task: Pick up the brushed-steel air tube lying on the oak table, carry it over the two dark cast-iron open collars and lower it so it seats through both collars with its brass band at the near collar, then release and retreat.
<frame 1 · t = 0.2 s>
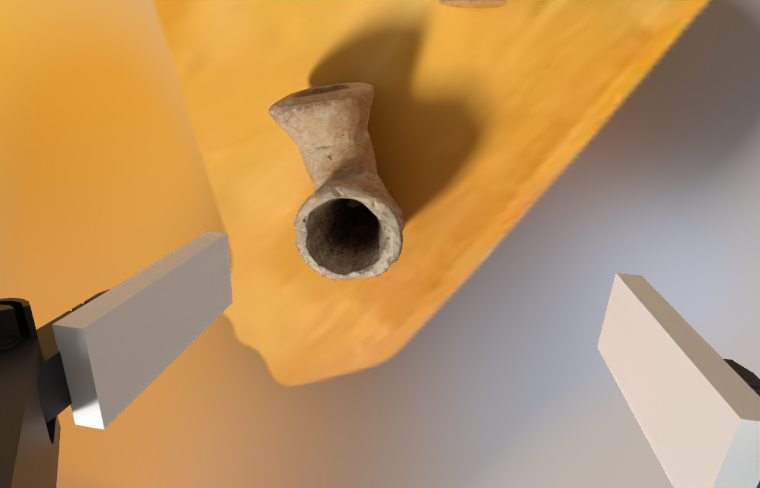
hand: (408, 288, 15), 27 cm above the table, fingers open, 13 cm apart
pipe: (357, 169, 42), on the table
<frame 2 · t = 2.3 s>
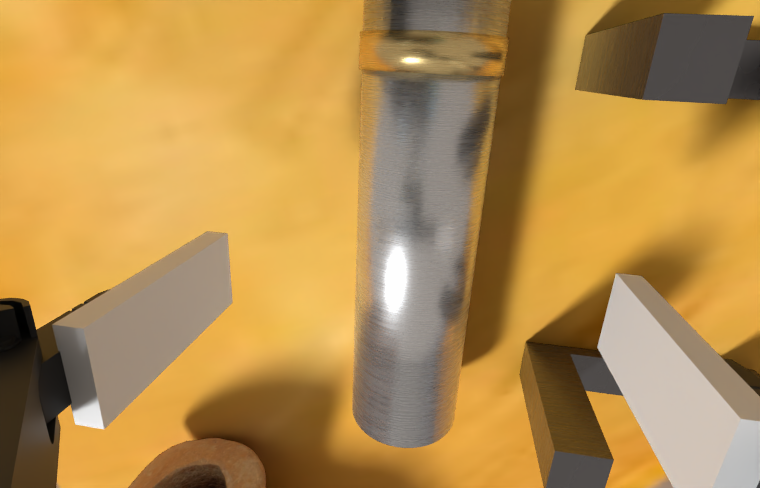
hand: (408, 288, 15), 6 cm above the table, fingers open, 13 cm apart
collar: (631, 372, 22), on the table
air tube: (421, 218, 21), on the table
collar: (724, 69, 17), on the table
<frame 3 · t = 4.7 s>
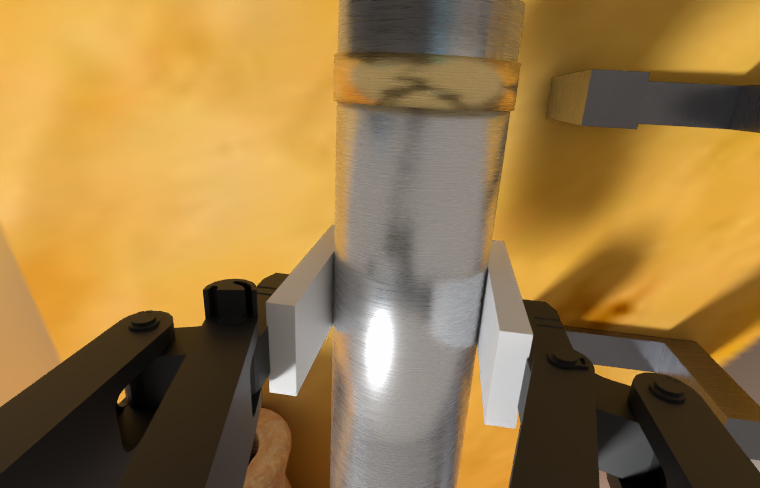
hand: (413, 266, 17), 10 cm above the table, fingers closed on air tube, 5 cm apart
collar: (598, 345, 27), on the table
pipe: (283, 482, 35), on the table
air tube: (413, 272, 18), point 9 cm above the table, touching gripper
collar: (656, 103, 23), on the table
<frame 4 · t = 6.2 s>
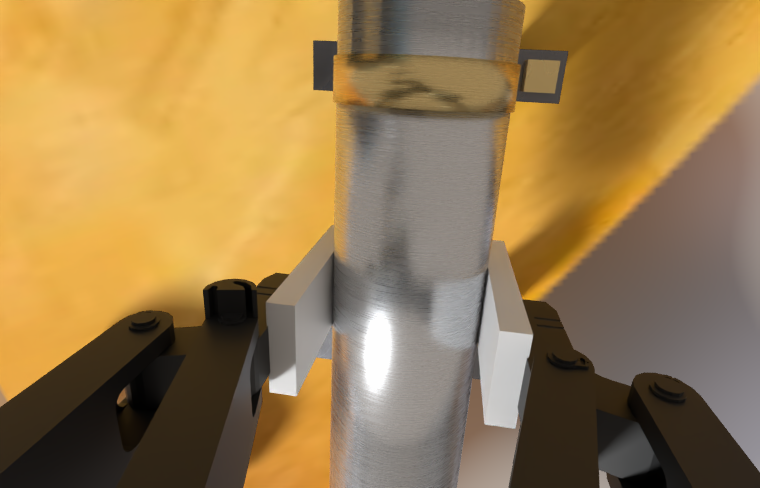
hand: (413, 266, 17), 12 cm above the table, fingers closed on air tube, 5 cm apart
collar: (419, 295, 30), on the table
air tube: (413, 274, 18), point 11 cm above the table, touching gripper
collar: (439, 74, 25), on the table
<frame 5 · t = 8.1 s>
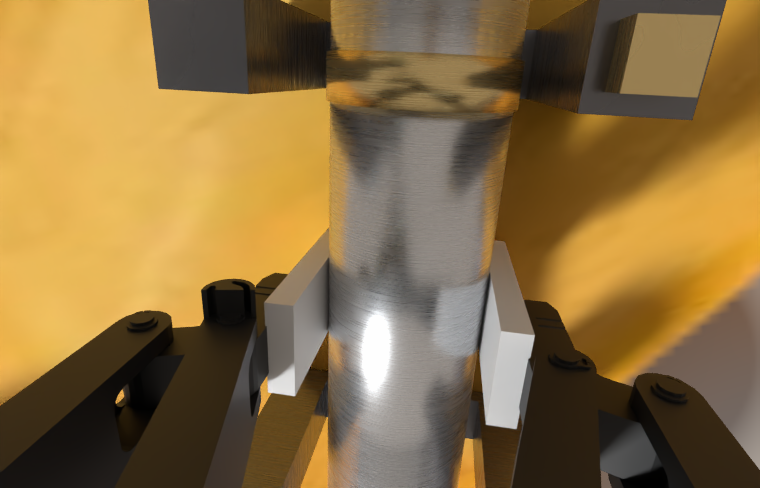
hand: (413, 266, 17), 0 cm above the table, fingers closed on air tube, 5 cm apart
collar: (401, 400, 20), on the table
air tube: (411, 275, 17), point 1 cm above the table, touching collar, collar, gripper
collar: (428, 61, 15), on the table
when the fingers open (0 cm above the table, at t = 8.4 s): air tube stays where it is, resting on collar, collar.
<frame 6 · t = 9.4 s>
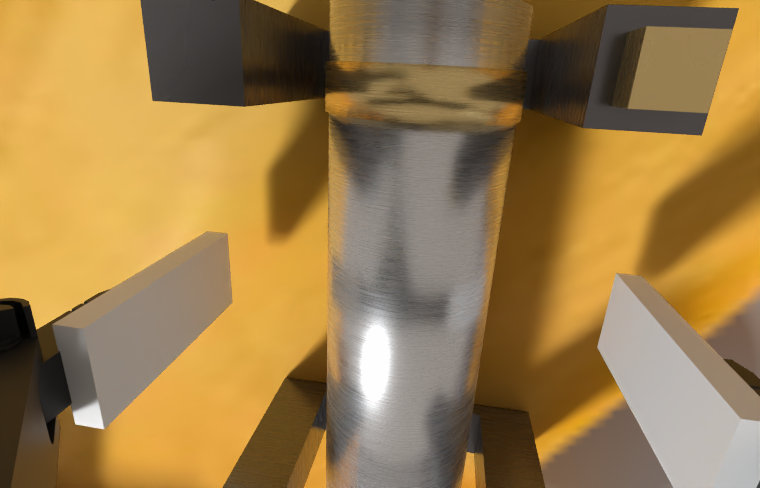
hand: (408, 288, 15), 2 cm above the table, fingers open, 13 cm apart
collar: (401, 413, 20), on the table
air tube: (412, 287, 17), point 1 cm above the table, touching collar, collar
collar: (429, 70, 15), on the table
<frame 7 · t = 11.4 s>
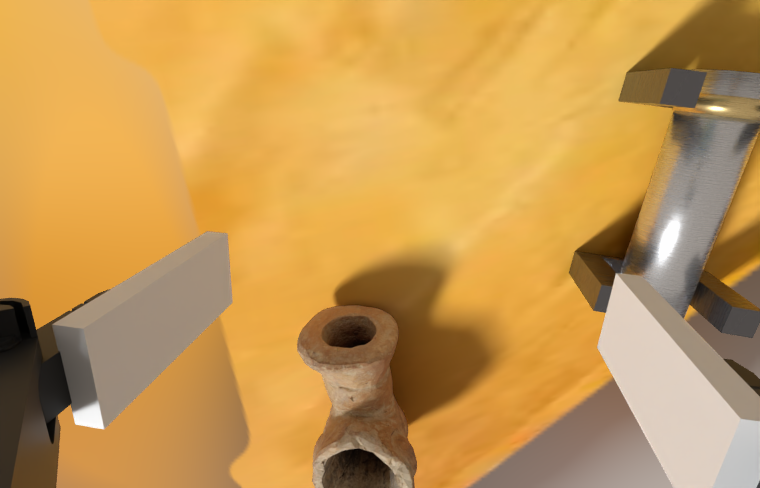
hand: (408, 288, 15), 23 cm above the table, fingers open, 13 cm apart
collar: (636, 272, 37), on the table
pipe: (372, 372, 45), on the table
air tube: (667, 199, 34), point 1 cm above the table, touching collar, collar
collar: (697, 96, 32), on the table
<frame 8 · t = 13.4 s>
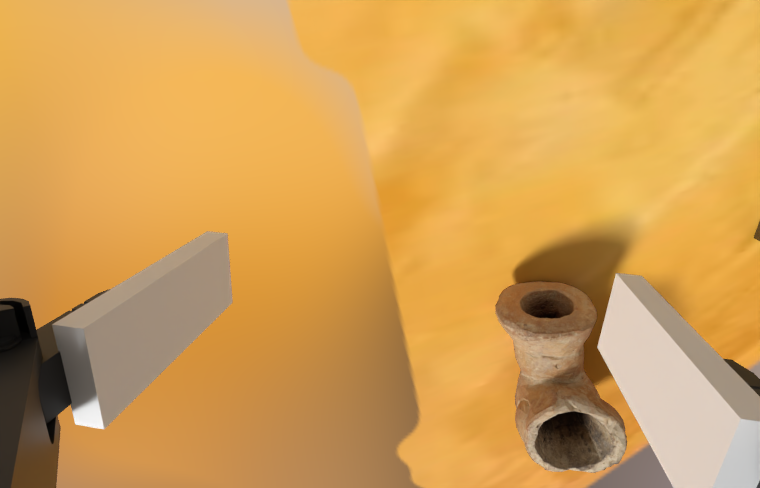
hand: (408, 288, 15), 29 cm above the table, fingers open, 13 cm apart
pipe: (545, 345, 47), on the table
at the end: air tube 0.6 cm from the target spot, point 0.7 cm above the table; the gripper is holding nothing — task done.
